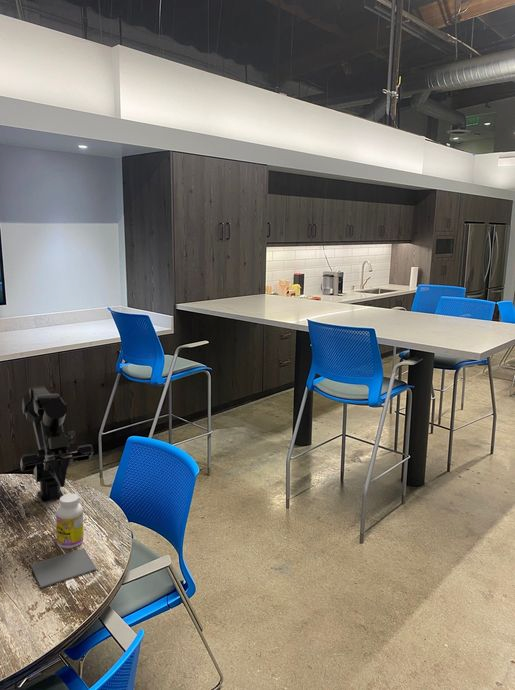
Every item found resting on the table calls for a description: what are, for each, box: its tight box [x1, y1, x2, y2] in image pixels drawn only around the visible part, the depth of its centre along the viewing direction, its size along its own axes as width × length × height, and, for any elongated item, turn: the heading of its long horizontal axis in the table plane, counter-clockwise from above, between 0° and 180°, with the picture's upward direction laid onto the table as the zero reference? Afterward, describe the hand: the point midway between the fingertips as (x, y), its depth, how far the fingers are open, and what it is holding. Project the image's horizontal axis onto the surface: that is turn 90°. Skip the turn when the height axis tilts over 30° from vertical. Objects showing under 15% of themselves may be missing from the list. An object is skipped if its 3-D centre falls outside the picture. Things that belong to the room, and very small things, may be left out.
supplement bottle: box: [55, 493, 84, 549], centre depth 138 cm, size 7×7×13 cm
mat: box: [30, 547, 98, 589], centre depth 129 cm, size 10×13×1 cm
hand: (62, 486), depth 144 cm, fingers closed
